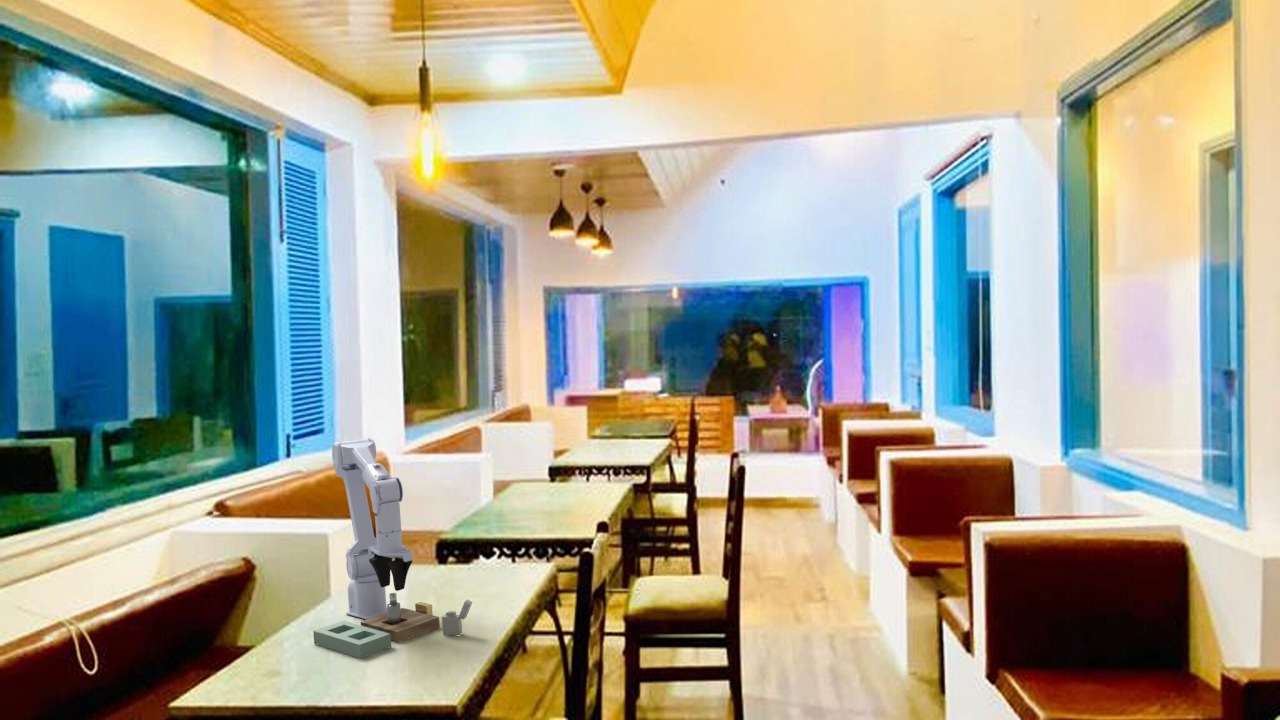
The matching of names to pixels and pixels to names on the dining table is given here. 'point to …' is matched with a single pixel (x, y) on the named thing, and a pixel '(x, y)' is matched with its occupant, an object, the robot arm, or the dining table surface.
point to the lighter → (455, 620)
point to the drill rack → (352, 639)
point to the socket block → (404, 624)
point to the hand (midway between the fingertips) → (392, 587)
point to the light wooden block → (424, 608)
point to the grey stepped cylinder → (393, 610)
